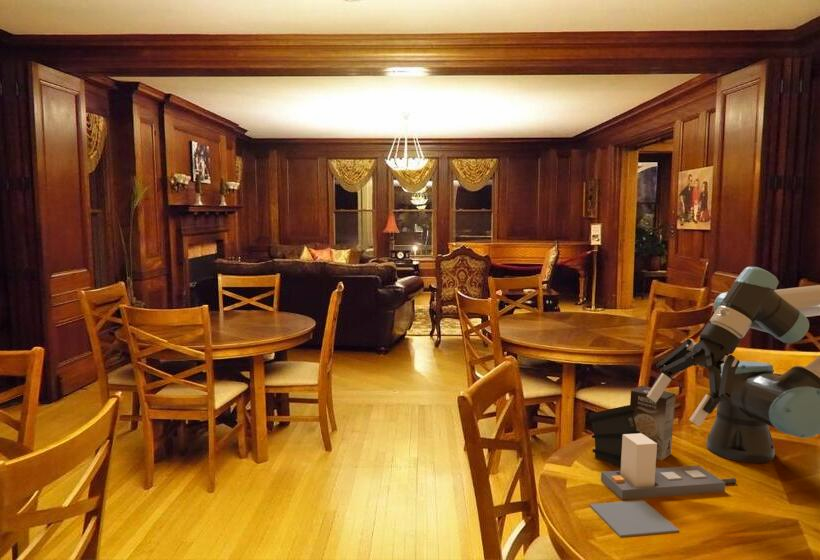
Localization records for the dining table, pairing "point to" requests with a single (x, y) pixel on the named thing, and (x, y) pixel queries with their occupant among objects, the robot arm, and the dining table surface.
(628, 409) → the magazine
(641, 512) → the slate mat
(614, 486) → the power strip
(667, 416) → the coffee box
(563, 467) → the dining table surface
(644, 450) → the beige rectangular block
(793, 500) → the dining table surface
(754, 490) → the dining table surface
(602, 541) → the dining table surface
